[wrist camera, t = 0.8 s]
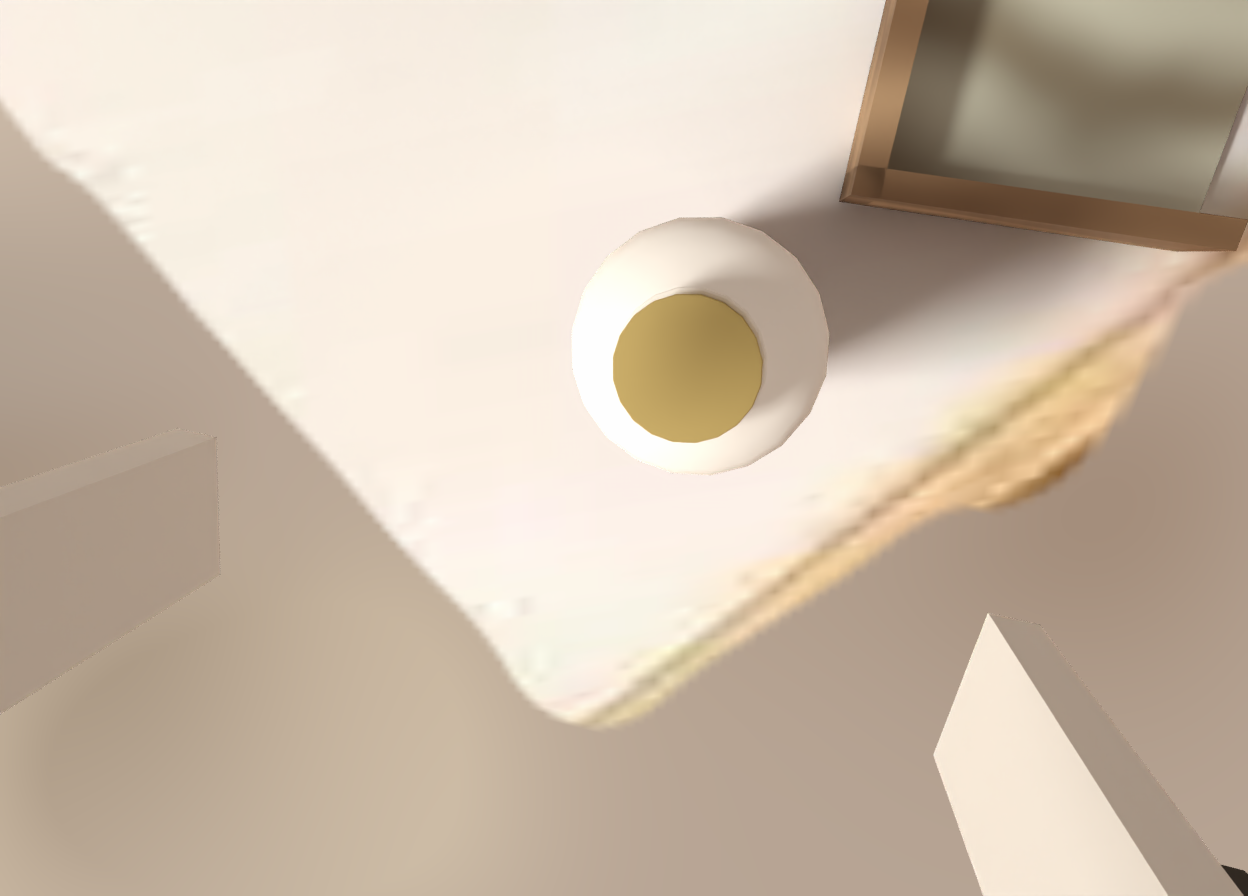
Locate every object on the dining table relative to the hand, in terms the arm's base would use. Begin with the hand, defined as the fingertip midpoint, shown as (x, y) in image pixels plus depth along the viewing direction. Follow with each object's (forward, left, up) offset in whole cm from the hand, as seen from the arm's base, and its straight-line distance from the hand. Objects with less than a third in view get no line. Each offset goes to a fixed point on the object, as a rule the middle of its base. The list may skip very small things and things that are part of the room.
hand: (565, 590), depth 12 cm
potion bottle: (-3, +1, -26) cm, 27 cm away
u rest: (-16, +13, -26) cm, 33 cm away
